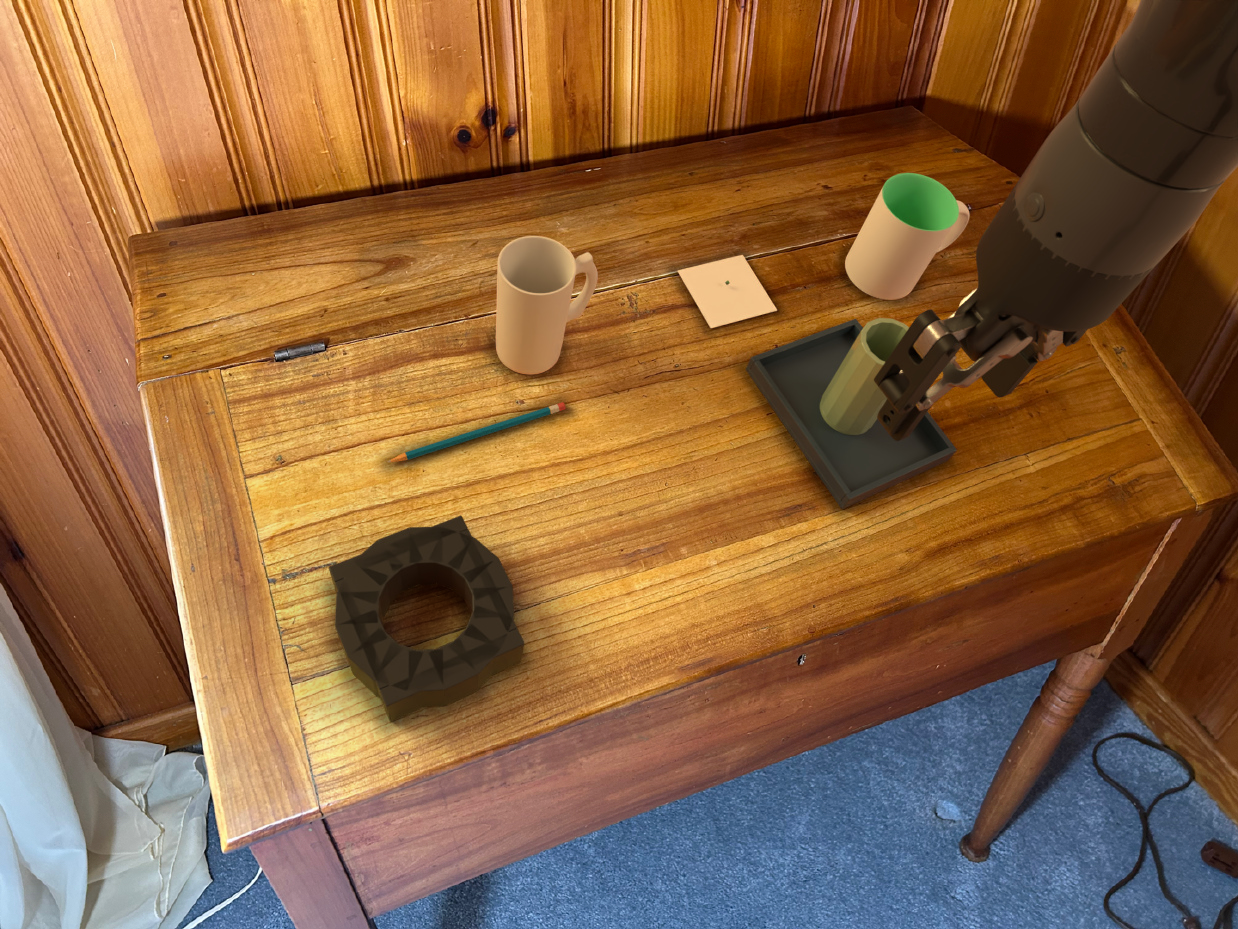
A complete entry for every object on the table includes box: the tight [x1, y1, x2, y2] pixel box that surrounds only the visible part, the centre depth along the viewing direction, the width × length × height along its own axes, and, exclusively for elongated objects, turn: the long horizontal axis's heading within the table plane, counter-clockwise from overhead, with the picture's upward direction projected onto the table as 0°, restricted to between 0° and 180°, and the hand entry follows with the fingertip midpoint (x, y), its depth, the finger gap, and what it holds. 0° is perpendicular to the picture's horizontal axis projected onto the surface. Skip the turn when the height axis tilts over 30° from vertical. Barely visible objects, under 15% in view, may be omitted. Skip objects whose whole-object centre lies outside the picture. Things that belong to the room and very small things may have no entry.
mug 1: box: [495, 235, 599, 375], centre depth 85 cm, size 10×7×12 cm, turn 121°
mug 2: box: [844, 172, 971, 301], centre depth 98 cm, size 12×8×10 cm
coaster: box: [677, 254, 778, 329], centre depth 97 cm, size 8×8×1 cm
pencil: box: [387, 401, 567, 463], centre depth 84 cm, size 1×17×1 cm, turn 117°
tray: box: [745, 318, 958, 510], centre depth 90 cm, size 17×13×2 cm
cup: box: [820, 317, 910, 435], centre depth 86 cm, size 6×6×11 cm
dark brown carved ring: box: [328, 515, 525, 723], centre depth 72 cm, size 13×13×4 cm
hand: (943, 406), depth 58 cm, fingers open, 8 cm apart
